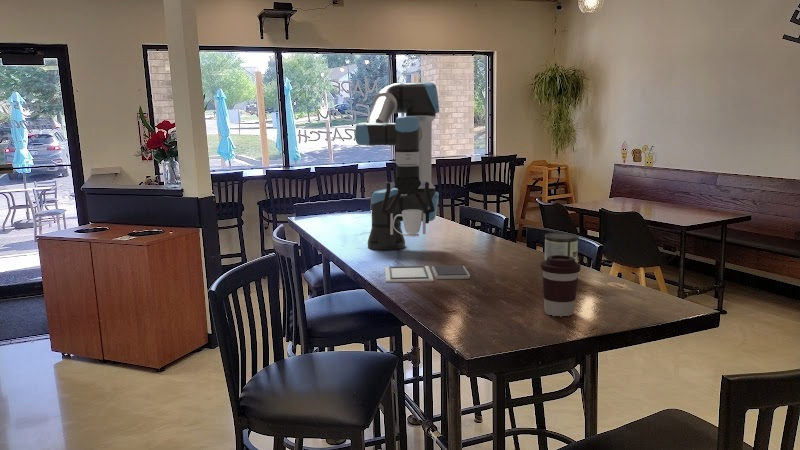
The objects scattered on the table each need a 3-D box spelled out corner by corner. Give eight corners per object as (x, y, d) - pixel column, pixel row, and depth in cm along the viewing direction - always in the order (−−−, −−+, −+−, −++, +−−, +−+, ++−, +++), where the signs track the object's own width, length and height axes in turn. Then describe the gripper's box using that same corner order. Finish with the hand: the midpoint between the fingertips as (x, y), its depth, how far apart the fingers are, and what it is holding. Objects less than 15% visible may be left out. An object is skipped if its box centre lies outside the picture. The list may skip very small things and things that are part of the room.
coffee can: (545, 273, 199) (546, 231, 196) (577, 276, 195) (579, 233, 193) (541, 281, 189) (543, 237, 187) (575, 284, 186) (577, 239, 183)
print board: (384, 268, 207) (384, 265, 207) (428, 267, 208) (428, 264, 208) (386, 282, 190) (386, 279, 189) (433, 281, 190) (433, 278, 190)
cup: (425, 236, 194) (425, 212, 193) (394, 238, 192) (394, 213, 191) (420, 232, 201) (420, 208, 199) (391, 234, 199) (390, 210, 198)
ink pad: (431, 269, 206) (431, 265, 205) (463, 268, 206) (463, 264, 206) (435, 279, 193) (435, 275, 193) (470, 278, 193) (470, 274, 193)
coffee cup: (534, 308, 163) (536, 254, 160) (570, 306, 163) (572, 252, 161) (546, 320, 153) (548, 262, 150) (584, 318, 154) (586, 261, 151)
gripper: (372, 166, 188) (373, 236, 192) (443, 165, 189) (443, 235, 193) (372, 164, 196) (373, 232, 200) (441, 164, 197) (440, 230, 201)
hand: (407, 233), depth 196 cm, fingers closed on cup, 10 cm apart
